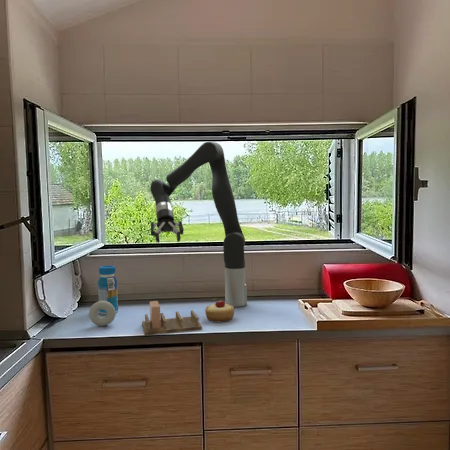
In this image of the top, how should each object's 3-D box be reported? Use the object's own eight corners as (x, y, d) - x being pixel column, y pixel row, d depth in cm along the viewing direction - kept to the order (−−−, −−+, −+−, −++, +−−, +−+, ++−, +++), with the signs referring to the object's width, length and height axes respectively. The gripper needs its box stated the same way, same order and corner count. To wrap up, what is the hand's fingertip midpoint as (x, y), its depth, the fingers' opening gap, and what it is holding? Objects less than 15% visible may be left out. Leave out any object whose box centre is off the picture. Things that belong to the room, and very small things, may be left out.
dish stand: (194, 319, 167) (194, 308, 166) (202, 329, 153) (201, 318, 153) (142, 324, 161) (141, 313, 161) (144, 335, 148) (144, 324, 147)
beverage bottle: (95, 314, 175) (94, 268, 174) (102, 309, 184) (100, 265, 182) (115, 314, 175) (113, 268, 174) (121, 309, 184) (119, 265, 182)
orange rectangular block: (158, 321, 161) (157, 300, 160) (160, 327, 152) (159, 306, 152) (150, 321, 160) (149, 301, 160) (152, 328, 151) (151, 307, 151)
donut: (88, 328, 157) (87, 302, 157) (90, 325, 161) (89, 300, 160) (115, 326, 159) (114, 301, 158) (116, 323, 162) (115, 298, 162)
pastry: (237, 322, 161) (237, 300, 161) (207, 325, 159) (207, 302, 158) (231, 314, 173) (230, 293, 172) (203, 316, 171) (202, 295, 170)
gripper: (149, 208, 183) (152, 236, 173) (181, 207, 187) (185, 234, 176) (148, 219, 188) (151, 247, 178) (179, 218, 192) (184, 245, 182)
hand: (168, 241), depth 177 cm, fingers open, 8 cm apart
